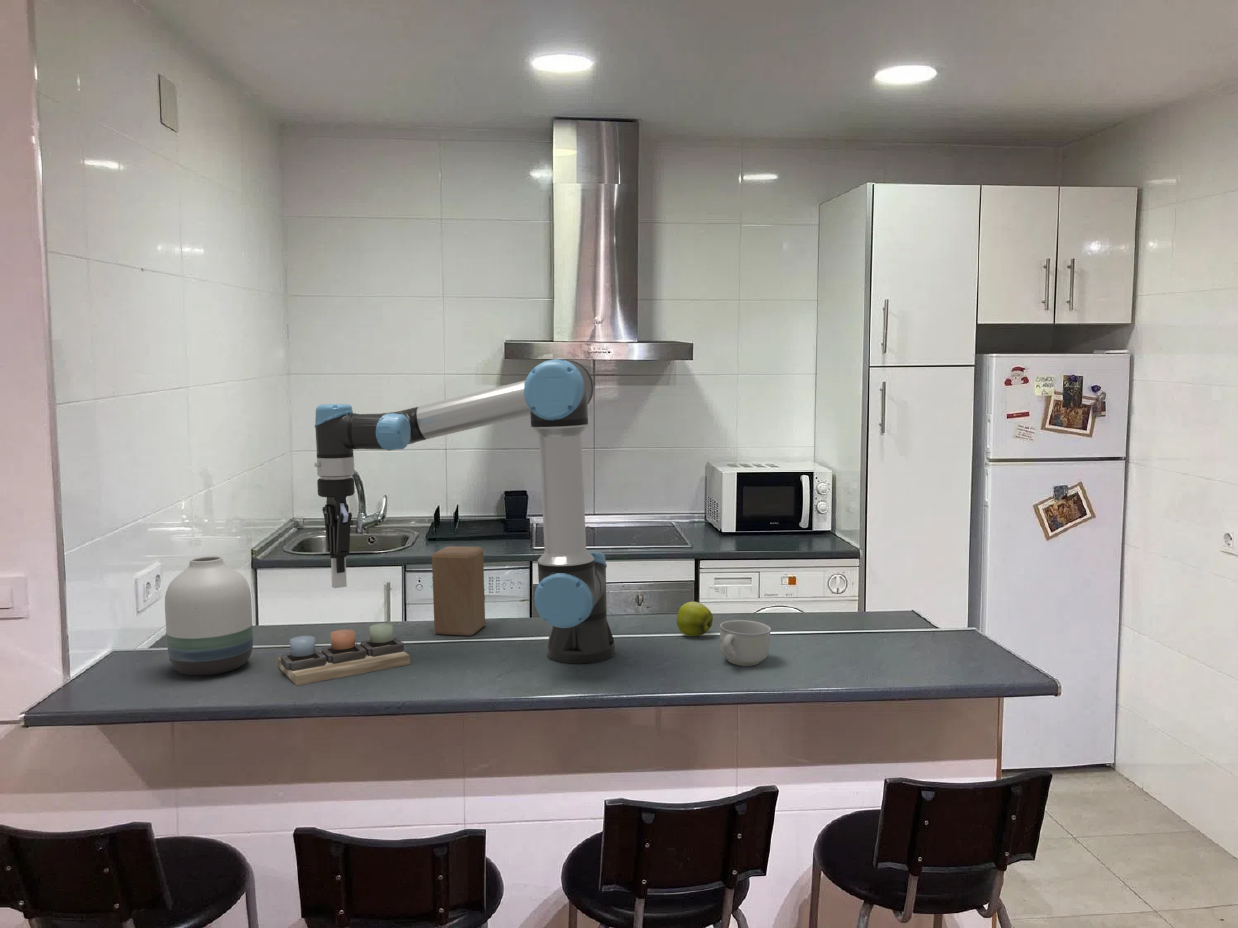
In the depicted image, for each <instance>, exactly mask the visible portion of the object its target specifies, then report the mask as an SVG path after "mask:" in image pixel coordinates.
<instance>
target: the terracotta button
mask: <svg viewBox="0 0 1238 928" xmlns="http://www.w3.org/2000/svg"><path fill="white" fill-rule="evenodd" d="M355 644H356V631H355V630H354V629H349V628H347V629H345V628H344V629H336V630H334V631H331V632H330V647H331V648H332V649H338V650H341V649H349V648H352V647H354V646H355Z"/></svg>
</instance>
